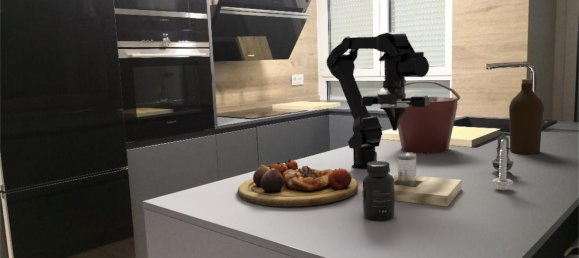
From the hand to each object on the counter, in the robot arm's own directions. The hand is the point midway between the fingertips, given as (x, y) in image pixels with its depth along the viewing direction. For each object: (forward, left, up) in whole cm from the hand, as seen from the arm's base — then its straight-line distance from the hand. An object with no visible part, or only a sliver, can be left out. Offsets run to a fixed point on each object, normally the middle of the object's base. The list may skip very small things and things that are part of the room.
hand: (394, 130), depth 143 cm
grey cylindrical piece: (+9, -18, -13) cm, 24 cm away
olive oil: (+31, +47, -13) cm, 58 cm away
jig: (+12, -18, -13) cm, 25 cm away
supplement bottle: (+9, -39, -13) cm, 42 cm away
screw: (+30, -6, -13) cm, 33 cm away
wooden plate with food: (-18, -27, -14) cm, 35 cm away
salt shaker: (+28, +11, -13) cm, 33 cm away
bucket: (-2, +41, -13) cm, 43 cm away
